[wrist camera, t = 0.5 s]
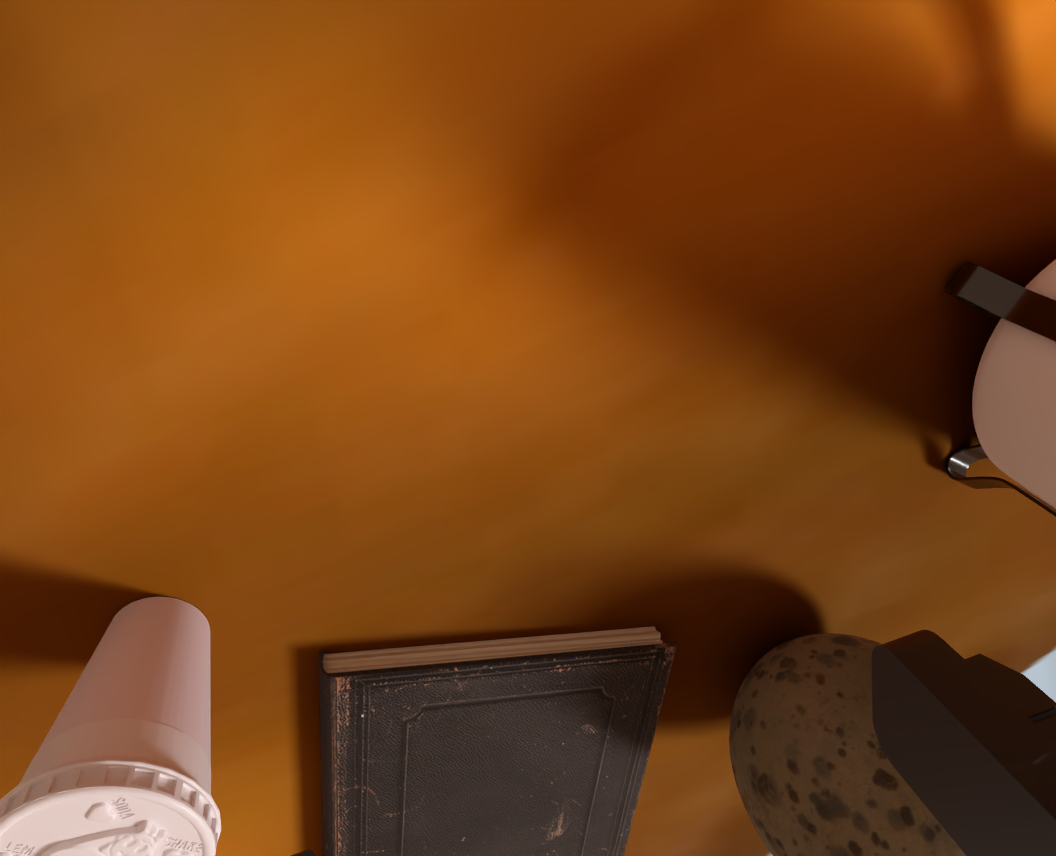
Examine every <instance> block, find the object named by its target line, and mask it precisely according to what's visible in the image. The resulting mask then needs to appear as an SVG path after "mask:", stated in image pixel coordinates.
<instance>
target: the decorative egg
mask: <svg viewBox="0 0 1056 856" xmlns="http://www.w3.org/2000/svg"><path fill="white" fill-rule="evenodd" d="M879 645H882V644H880V643H878V642H875V641H872V640H868V639H865V638H861V637H856V636H851V635H844V634H828V633H826V634H813V635H806V636H802V637H799V638H795V639H792V640H789V641H787V642H784V643H782V644H780V645H778V646H777V647H775V648H773V649H772V650H770V651H769V652H768V653H766V654H765V655H764V656H763V657H762V658H761V659H760V660H759V661H758V662H757V663H756V664H755V665H754V666H753V668H752V669H751V670H750V671H749V673H748V674H747V676H746V677H745V679H744V681H743V683H742V685H741V686H740V688H739V691H738V693H737V696H736V699H735V702H734V706H733V709H732V715H731V722H730V735H729V742H730V757H731V763H732V768H733V772H734V777H735V781H736V784H737V787H738V790H739V793H740V795H741V798H742V801H743V803H744V806H745V808H746V810H747V813H748V815H749V817H750V819H751V821H752V823H753V825H754V827H755V828H756V830H757V832H758V834H759V835H760V837H761V839H762V840H763V842H764V843H765V845H766V846H767V848H768V849H769V851H770V852H771V853H772V855H773V856H966V855H965V854H964V852H963V851H962V850H961V849H960V847H959V846H958V845H957V844H956V843H955V841H954V840H953V839H952V838H951V836H950V835H949V834H948V833H947V832H946V830H945V829H944V828H943V827H942V825H941V824H940V823H939V822H938V820H937V819H936V818H935V817H934V816H933V814H932V813H931V812H930V811H929V809H928V808H927V807H926V806H925V805H924V803H923V802H922V801H921V800H920V798H919V797H918V796H917V795H916V794H915V792H914V791H913V790H912V789H911V787H910V786H909V785H908V784H907V783H906V781H905V780H904V779H903V778H902V776H901V775H900V774H899V773H898V772H897V770H896V769H895V768H894V766H893V765H892V764H891V762H890V761H889V759H888V758H887V756H886V755H885V753H884V751H883V749H882V747H881V745H880V743H879V741H878V738H877V736H876V733H875V730H874V725H873V716H872V651H873V649H874V648H875V647H877V646H879Z"/></svg>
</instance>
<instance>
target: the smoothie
mask: <svg viewBox="0 0 1056 856" xmlns="http://www.w3.org/2000/svg"><path fill="white" fill-rule="evenodd" d="M220 832H221V820H220V811H219V809H218V807H217V805H216V804H215V802H214V800H213V798H212V796H211V758H210V627H209V623H208V621H207V619H206V617H205V616H204V615H203V613H202V612H201V611H200V610H198V609H197V608H196V607H195V606H193V605H191V604H189V603H187V602H185V601H182V600H179V599H175V598H170V597H149V598H144V599H140V600H137V601H134V602H132V603H130V604H128V605H127V606H125V607H124V608H122V609H121V610H120V611H119V612H118V613H117V614H116V615H115V616H114V618H113V619H112V621H111V623H110V625H109V627H108V628H107V630H106V632H105V634H104V635H103V637H102V639H101V641H100V642H99V644H98V646H97V648H96V649H95V651H94V653H93V655H92V657H91V658H90V660H89V662H88V664H87V665H86V667H85V669H84V671H83V672H82V674H81V676H80V678H79V680H78V681H77V683H76V685H75V687H74V688H73V690H72V692H71V694H70V695H69V697H68V699H67V701H66V702H65V704H64V706H63V708H62V710H61V711H60V713H59V715H58V717H57V718H56V720H55V722H54V724H53V725H52V727H51V729H50V731H49V732H48V734H47V736H46V738H45V740H44V741H43V743H42V745H41V747H40V748H39V750H38V752H37V754H36V755H35V757H34V758H33V760H32V762H31V763H30V765H29V767H28V769H27V771H26V773H25V775H24V776H23V778H22V780H21V782H20V784H19V785H17V786H16V787H15V788H14V789H12V790H11V791H10V792H9V793H8V794H6V795H5V796H4V797H3V798H2V799H0V856H215V854H216V846H217V842H218V838H219V835H220Z"/></svg>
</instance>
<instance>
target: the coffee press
mask: <svg viewBox="0 0 1056 856" xmlns="http://www.w3.org/2000/svg"><path fill="white" fill-rule="evenodd" d="M946 292H948V293H949V294H951V295H953V296H954V297H956V298H958V299H960V300H962V301H963V302H965V303H967V304H969V305H971V306H973V307H975V308H977V309H979V310H980V311H982V312H984V313H986V314H988V315H990V316H992V317H993V318H995V319H997V320H998V321H999V322H998V324H997V326H996V327H995V329H994V331H993V333H992V335H991V337H990V339H989V341H988V343H987V345H986V347H985V349H984V352H983V354H982V357H981V360H980V363H979V366H978V369H977V373H976V377H975V382H974V388H973V398H972V412H973V421H974V426H975V430H976V434H977V437H978V439H979V442H980V444H978V445H975V446H971V447H966V448H963V449H959V450H957V451H955V452H954V453H952V454H951V455H950V457H949V458H948V460H947V462H946V472H947V474H948V476H949V477H950V478H952V479H954V480H956V481H958V482H960V483H962V484H964V485H967V486H969V487H971V488H975V489H983V488H1011V489H1015V490H1017V491H1018V492H1020V493H1021V494H1023V495H1024V496H1026V497H1027V498H1029V499H1030V500H1032V501H1033V502H1035V503H1036V504H1038V505H1039V506H1041V507H1042V508H1044V509H1045V510H1047V511H1048V512H1050V513H1051V514H1053V515H1054V516H1056V509H1055V508H1056V259H1055V260H1054V261H1053V262H1052V263H1050V264H1049V265H1048V266H1047V267H1046V268H1044V269H1043V270H1042V271H1041V272H1040V273H1039V274H1038V275H1037V276H1036V277H1035V278H1034V279H1033V280H1032V281H1031V282H1030V283H1029V284H1028V285H1027V286H1026V287H1025V288H1024V287H1022V286H1020V285H1018V284H1015V283H1013V282H1011V281H1009V280H1007V279H1005V278H1003V277H1001V276H999V275H997V274H995V273H992V272H990V271H988V270H986V269H984V268H982V267H980V266H978V265H975V264H973V263H970V262H966V263H965V265H964V266H963V267H962V269H961V270H960V272H959V273H958V274H957V276H956V277H955V279H954V280H953V281H952V283H951V284H950V285H949V287H948V288H947V290H946ZM985 458H989V459H990V460H991V461H992V462H993V463H994V464H995V465H996V466H997V467H998V468H999V469H1000V470H1001V471H1002V472H1004V473H1005V474H1006V475H1008V476H1009V477H1010V478H1012V479H1013V480H1015V481H1016V482H1018V483H1019V484H1020V485H1022V486H1023V487H1025V488H1026V489H1028V490H1029V491H1031V492H1032V493H1034V494H1035V495H1036V496H1038V497H1039V498H1041V499H1042V500H1044V501H1045V502H1044V501H1042V500H1041V499H1039V498H1038V497H1036V496H1035V495H1033V494H1031V493H1030V492H1028V491H1026V490H1024V489H1022V488H1020V487H1018V486H1016V485H1014V484H1012V483H1010V482H1008V481H1006V480H1004V479H1001V478H997V477H966V470H967V468H968V467H969V465H970V464H971V463H973V462H975V461H977V460H980V459H985ZM1046 502H1047V503H1048V504H1047V503H1046ZM1049 504H1050V505H1051V506H1050V505H1049ZM1052 506H1053V507H1054V508H1053V507H1052Z"/></svg>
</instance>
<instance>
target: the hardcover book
mask: <svg viewBox="0 0 1056 856" xmlns="http://www.w3.org/2000/svg"><path fill="white" fill-rule="evenodd" d="M676 647H677V646H676V644H675V642H673V643H663V641H661V633H660V632H658V631H657V630H656V628H655V626H653V627H641V628H629V629H617V630H605V631H593V632H581V633H569V634H557V635H546V636H534V637H522V638H510V639H498V640H486V641H474V642H462V643H450V644H438V645H426V646H414V647H402V648H390V649H379V650H367V651H355V652H343V653H331V654H324V650H322V651H320V655H319V706H320V750H321V794H322V838H323V856H624V852H625V848H626V844H627V840H628V836H629V832H630V828H631V824H632V820H633V817H634V813H635V809H636V805H637V801H638V797H639V793H640V789H641V785H642V781H643V777H644V773H645V769H646V765H647V761H648V757H649V753H650V749H651V746H652V742H653V738H654V734H655V730H656V726H657V722H658V718H659V714H660V710H661V706H662V702H663V698H664V694H665V690H666V686H667V682H668V678H669V675H670V671H671V667H672V663H673V659H674V655H675V651H676Z"/></svg>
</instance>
